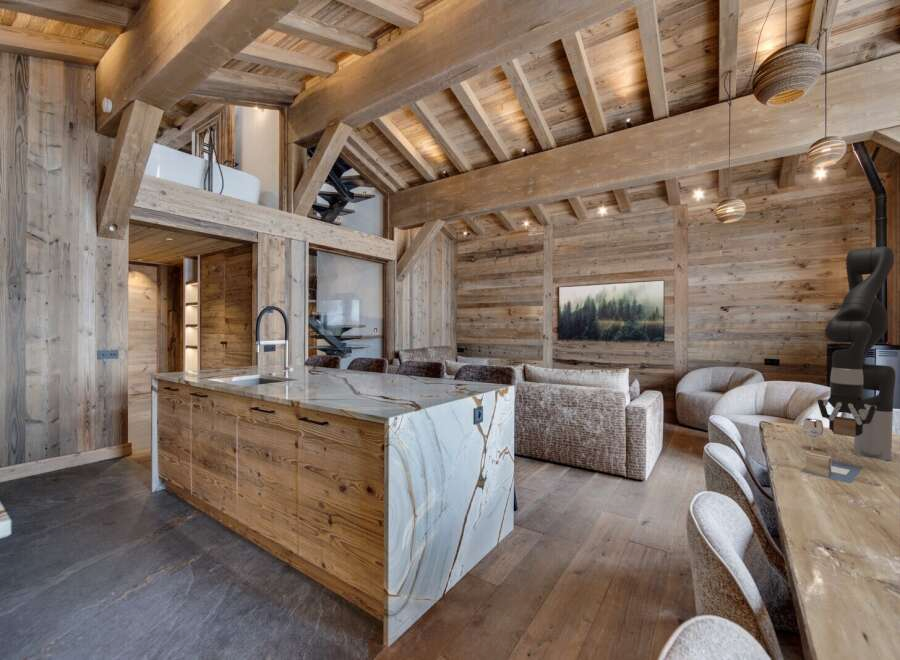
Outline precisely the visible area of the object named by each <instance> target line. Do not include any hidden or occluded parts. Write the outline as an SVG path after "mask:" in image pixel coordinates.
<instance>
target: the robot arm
mask: <svg viewBox="0 0 900 660" xmlns="http://www.w3.org/2000/svg"><path fill="white" fill-rule="evenodd" d="M894 262H895V254H894V251H893V249H892V248H891V247H889V246H876V247H868V248H867V247H866V248H865V247H864V248H858V249H852V250H850V251H849V252H847V255H846V259H845V266H846V269H845V270H846V276H847V283H848V290H849V291H848V292H847V293H846V294H845V296H844V297H843V300H842V302H841V305H840V307H839V311H838V312H837V313H836V314H835V315H834V316H833V318H831V320H830V321H828V323H827V324H826V327H825V329H824V334H825V337H826V339H827V340H828V341H830V342H834V343H851V346H850V347H849V348H843V349H836V350H834V351H833V352H832V354H831V370H830V371H831V373H830V378H829V379H830V389H829V391H830V392H829V393H830V395H829V397H828V399H825V398H824V399H822V398H820V399H818V400H817V404H818V408H819V412H820V415H821V417H822V418H824V419H826V420H827V419H828V421H829V423H828V424H829V425H828V428H829V430H830V431H831V433H833V428H834V418H835V417H837V416H838V415H839V413H846V414H848V415H852V417H853V419H855V421H856V423H857V424H856V437H853V438H854V439H853V440H854V441H853V453H854V455H856V456H859V457H864V458H865V457H866V458H871V459H875V460H879V461H891V460H892V448H893V447H892V445H893V444H892V442H893V439H892V438H893V414H894V413H893V412H894V397H895V395H894V394H895V385H896V371H895V368H894V367H893V366H890V365H882V364H881V365H880V364H867V363H865V362H866V358H867V355H868V353H869V352H870V350H871V349H872V348H873V347H874V346H875V344H877V343H878V341H880V340H881V338H882V337H883V336H884V335H885V334H886V332H887V331H888V328H889V327H888V325H889V324H888V322H889V321H888V310H887V309H886V307H885V305H884V304H883V303H882V302H881V301H880V300H879V299H878V298H877V297H876V296H877V294H878V293H879V291H880V289H881V288H882V286H883V285H884V283H885V282H886V279H888V276H889V274H890V273H891V270H892V268H893V266H894V264H895V263H894ZM865 275H867V277H866V278H865V279H864V278H863V276H865ZM868 275H869V276H868ZM864 390H869V391H878V394H877V395H875V396H871V397H865V398H864ZM828 403H829V404H830V405H831V407H832V408H833V410H832V411H831V414H829V412H828V410H827V406H828Z"/></svg>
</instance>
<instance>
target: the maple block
mask: <svg viewBox="0 0 900 660" xmlns="http://www.w3.org/2000/svg"><path fill="white" fill-rule="evenodd" d="M832 458H833V457H832V456H826V455H822V454H817V453H813V452H809V453H808V454H806V456H805V467H806V472H809V473H813V474H817V475H822V476H826V477H828V476H829V475H830V474H831V461H833V459H832ZM809 473H808V474H809ZM813 474H812V475H813ZM817 475H816V476H817ZM826 477H825V478H826Z"/></svg>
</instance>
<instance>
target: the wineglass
mask: <svg viewBox="0 0 900 660" xmlns="http://www.w3.org/2000/svg"><path fill="white" fill-rule="evenodd" d="M824 429H825V428H824V424H823V421H822V420H821V419H817V418H807V417H806V418H804V420H803V424H802V432H803V433H804V434H805V435H807V436H808V437H810V442H811V448H810V450H812V451H814V450H815V448H814V443H815V438H819V437H822V435H823V434H824V432H825V431H824Z"/></svg>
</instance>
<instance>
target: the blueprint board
mask: <svg viewBox="0 0 900 660" xmlns="http://www.w3.org/2000/svg"><path fill="white" fill-rule="evenodd" d="M863 469H864V466H859V465H854V464H849V463H846V462H845V463H844V462H841V461H835V460H832V461H831V474H830V475H829V476H828V477H826V476H822V475H817V474H813V473H809V472H806V466H805V467H804V468H803V469H802V470H801V471H800V472H801V473H805V474H809V475H813V476H818V477H822V478H825V479H826V478H827V479H830V480H835V481H838V482H844V483H848V484H851V483H852V482H853V481H854V479H856V478H857V476H858V475H859V474H860V472H861V471H862V470H863Z"/></svg>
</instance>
